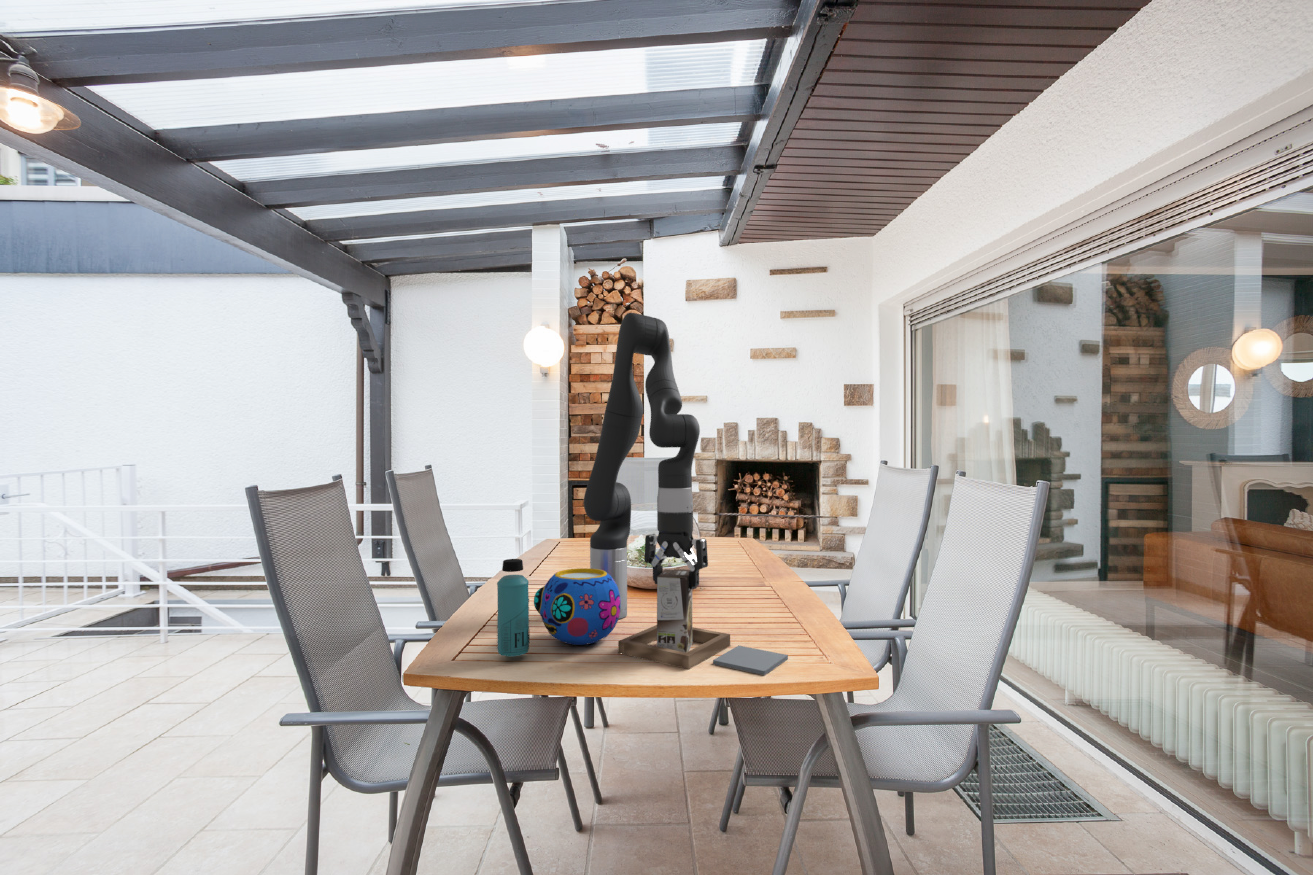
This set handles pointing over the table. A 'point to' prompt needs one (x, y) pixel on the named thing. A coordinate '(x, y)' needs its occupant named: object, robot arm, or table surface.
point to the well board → (641, 649)
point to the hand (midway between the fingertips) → (675, 586)
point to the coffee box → (674, 610)
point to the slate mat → (750, 660)
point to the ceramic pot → (579, 605)
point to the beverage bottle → (513, 611)
